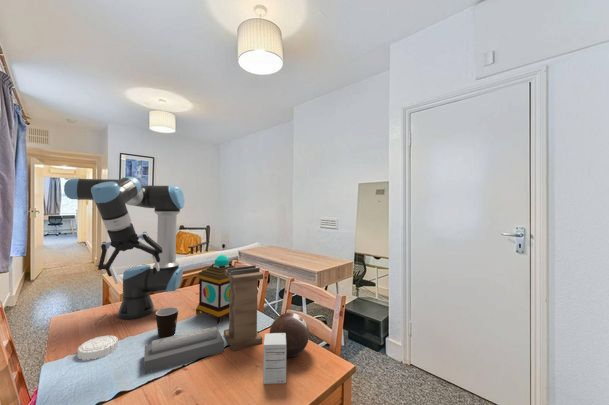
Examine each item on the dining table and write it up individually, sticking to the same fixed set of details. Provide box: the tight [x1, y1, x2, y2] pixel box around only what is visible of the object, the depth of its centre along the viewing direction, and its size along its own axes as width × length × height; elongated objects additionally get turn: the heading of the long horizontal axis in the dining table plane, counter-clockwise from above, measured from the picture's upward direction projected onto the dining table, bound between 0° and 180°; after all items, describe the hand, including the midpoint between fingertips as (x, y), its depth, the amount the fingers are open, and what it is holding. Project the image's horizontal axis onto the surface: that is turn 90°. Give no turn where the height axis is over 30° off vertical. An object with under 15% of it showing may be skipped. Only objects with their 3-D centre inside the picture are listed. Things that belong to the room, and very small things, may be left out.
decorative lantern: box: [195, 254, 236, 324], centre depth 132 cm, size 20×20×30 cm
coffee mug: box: [155, 306, 179, 339], centre depth 112 cm, size 12×9×10 cm
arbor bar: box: [151, 326, 218, 353], centre depth 97 cm, size 3×22×3 cm, turn 121°
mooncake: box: [77, 335, 119, 361], centre depth 98 cm, size 12×12×4 cm
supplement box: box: [262, 332, 287, 385], centre depth 86 cm, size 7×7×13 cm
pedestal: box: [223, 264, 264, 352], centre depth 108 cm, size 14×12×30 cm
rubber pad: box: [143, 328, 225, 374], centre depth 97 cm, size 11×26×4 cm, turn 121°
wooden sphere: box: [269, 312, 310, 358], centre depth 98 cm, size 15×15×15 cm
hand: (138, 275), depth 99 cm, fingers open, 13 cm apart
